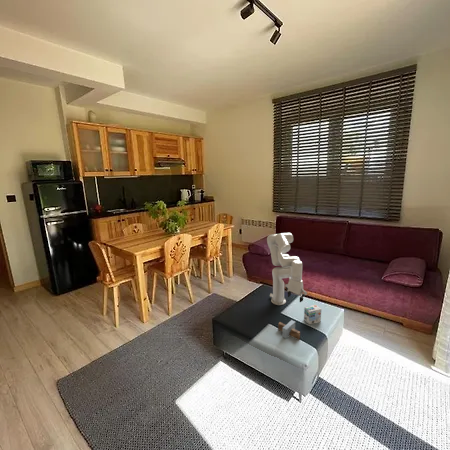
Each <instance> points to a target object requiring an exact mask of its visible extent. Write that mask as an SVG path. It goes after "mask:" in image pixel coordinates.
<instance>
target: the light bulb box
mask: <svg viewBox="0 0 450 450" xmlns="http://www.w3.org/2000/svg"><path fill="white" fill-rule="evenodd" d="M303 310H304V311H303V321H305V323H307V324H308V325H313V324H316V323H320V322H321V320H322V308H321V307H319V305H318V304H313V305H309V306H304V309H303Z"/></svg>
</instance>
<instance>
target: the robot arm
mask: <svg viewBox="0 0 450 450" xmlns="http://www.w3.org/2000/svg"><path fill="white" fill-rule="evenodd" d="M266 242H267V246H268V248H269V251H270V256H271V263H272V265H273V266H276V267H274V268H273V269H272V270H271V274H272V292H270V294H269V297H270V298H271V300H270V302H271V303H272V304H273V305H277V306H282V305H285V304H286V303H287V300H286V298H285V290H286V292H287V297H288V298H290V297H291V296H292V293H293V294H295V295H298V296H299V303H302V302H303V301H304V297H305V296H306V295H308V292H307V291H306V290H305V289H304V281H303V279H302V278H303V262H302V261H301V259H300V257H299V256H298V255H297V256H296V255H292V256H291V255H289V254H288V253H287V252H289V251H290V250H291V243H293V242H294V235H293V234H292V233H291V232H281V233H275V234H269V235H267V238H266ZM283 279H288V283H285V282H284V280H283Z"/></svg>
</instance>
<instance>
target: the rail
mask: <svg viewBox="0 0 450 450" xmlns="http://www.w3.org/2000/svg"><path fill="white" fill-rule="evenodd" d="M285 325H286V324H285V323H283V322H281V321H279V322H278V325H277V326H278V328H277V329H278V330H279V331H281V332H282V328H283V327H284V326H285ZM290 335H291V336H290ZM289 336H290V337H292V338H295V339H297V340H298V341H299V340H300V339H301V331H299V330H298V329H296V328H295V329H291V331H290V332H289Z"/></svg>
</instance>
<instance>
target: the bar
mask: <svg viewBox="0 0 450 450" xmlns="http://www.w3.org/2000/svg"><path fill="white" fill-rule="evenodd" d="M291 329H295V330H296V321H295V320H293V319H291V320H290V321H289V322H287V324H285V326H284V327H283V328H282V331H281V334H282V335H281V336H282V338H284V339H288V338H289V337H290V335H289V332H290V331H291ZM288 336H289V337H288ZM287 337H288V338H287Z"/></svg>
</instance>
